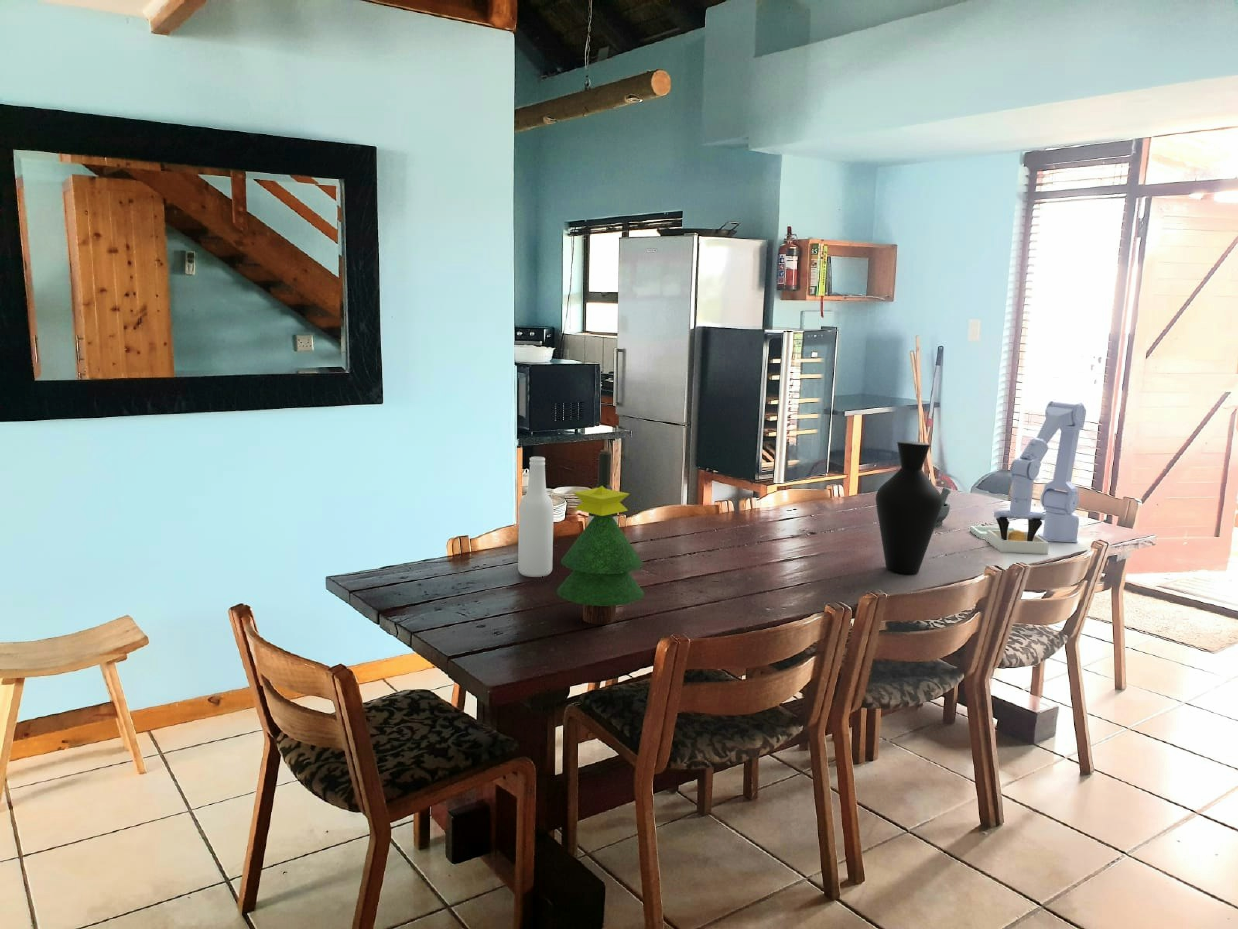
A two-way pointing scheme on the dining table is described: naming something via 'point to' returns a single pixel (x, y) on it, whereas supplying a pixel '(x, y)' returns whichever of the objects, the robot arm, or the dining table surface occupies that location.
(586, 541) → the decorative tree
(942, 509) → the mortar and pestle
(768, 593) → the dining table surface
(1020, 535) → the ball
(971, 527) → the tray
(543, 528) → the alcohol
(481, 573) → the dining table surface
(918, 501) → the vase
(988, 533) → the cream open box
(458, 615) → the dining table surface
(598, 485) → the wine bottle
